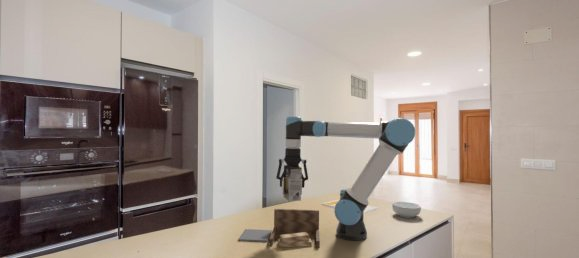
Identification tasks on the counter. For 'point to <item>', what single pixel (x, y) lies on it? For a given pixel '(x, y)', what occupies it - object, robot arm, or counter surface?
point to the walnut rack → (295, 223)
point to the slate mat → (255, 235)
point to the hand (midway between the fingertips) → (292, 193)
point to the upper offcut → (294, 237)
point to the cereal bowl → (406, 209)
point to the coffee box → (292, 183)
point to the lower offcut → (296, 243)
